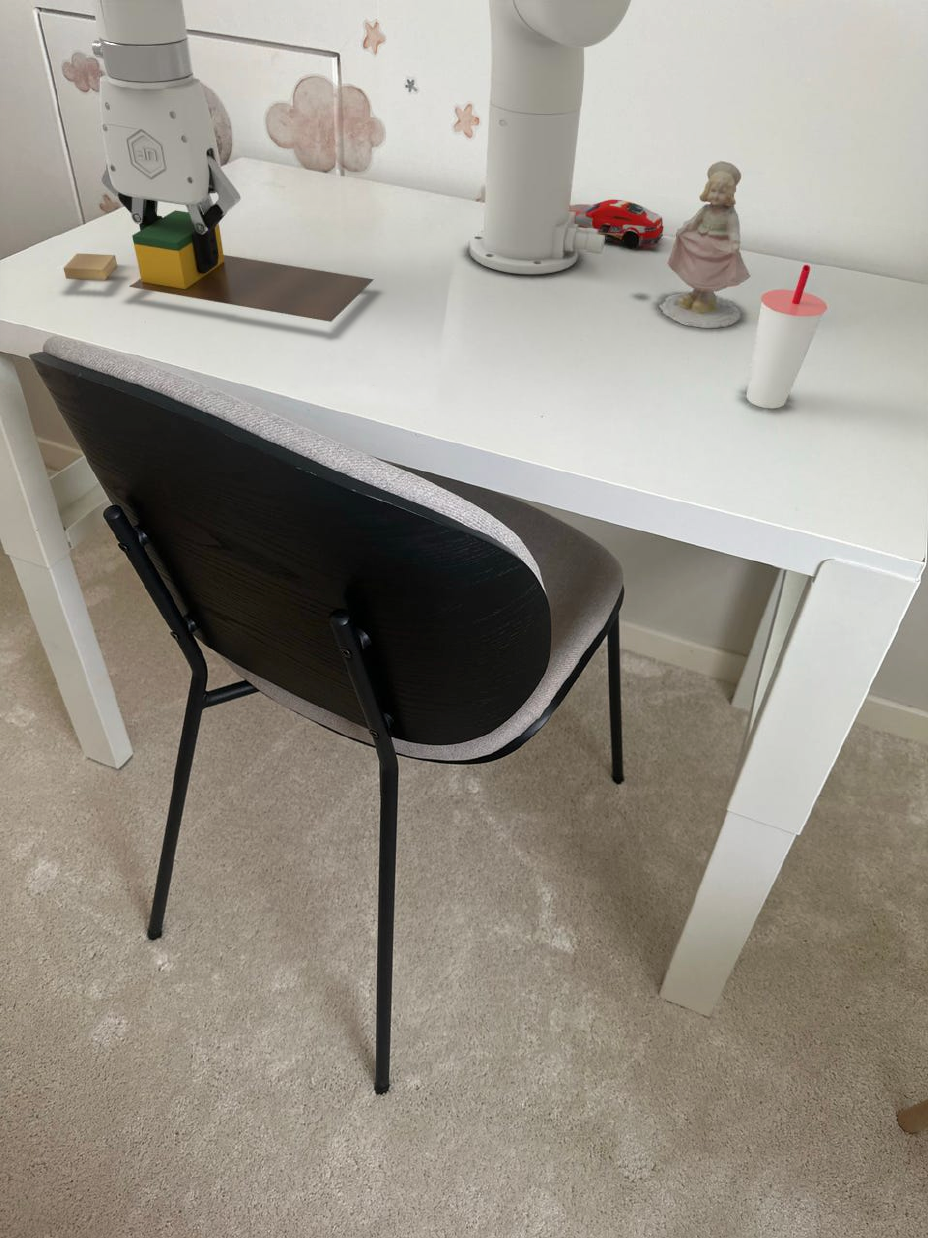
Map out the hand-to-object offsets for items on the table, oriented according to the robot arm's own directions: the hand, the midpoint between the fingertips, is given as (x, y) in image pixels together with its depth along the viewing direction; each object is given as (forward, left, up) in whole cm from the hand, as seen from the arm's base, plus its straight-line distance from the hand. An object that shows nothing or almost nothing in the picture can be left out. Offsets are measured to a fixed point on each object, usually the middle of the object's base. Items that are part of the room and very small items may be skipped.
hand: (183, 262), depth 92 cm
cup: (-60, +3, -3) cm, 60 cm away
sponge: (0, 0, -1) cm, 1 cm away
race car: (-39, -32, -3) cm, 50 cm away
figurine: (-51, -14, -3) cm, 53 cm away
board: (-8, 0, -2) cm, 8 cm away
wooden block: (+9, +3, -2) cm, 10 cm away
